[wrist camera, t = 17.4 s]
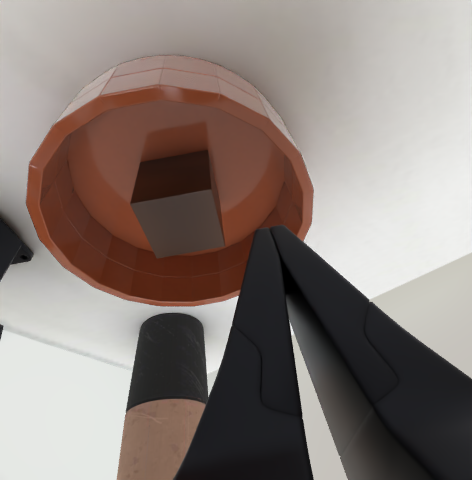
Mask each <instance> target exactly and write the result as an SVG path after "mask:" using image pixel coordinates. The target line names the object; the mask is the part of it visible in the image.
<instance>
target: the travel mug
mask: <svg viewBox="0 0 472 480" xmlns="http://www.w3.org/2000/svg"><path fill="white" fill-rule="evenodd" d="M207 400H208V386H207V372H206V357H205V343H204V331H203V326H202V324H201V322H200V321H199V320H197V319H196V318H194V317H191V316H189V315H185V314H177V313H169V314H162V315H157V316H154V317H152V318H150V319H148V320H147V321H145V322H144V323H143V325H142V326H141V329H140V333H139V338H138V344H137V350H136V355H135V361H134V367H133V373H132V379H131V385H130V390H129V396H128V402H127V408H126V415H125V422H124V430H123V436H122V444H121V452H120V459H119V467H118V474H117V480H173V478H174V476H175V475H176V473H177V471H178V469H179V467H180V465H181V463H182V461H183V459H184V457H185V455H186V453H187V450H188V448H189V446H190V443H191V441H192V439H193V436H194V434H195V431H196V429H197V426H198V423H199V421H200V418H201V416H202V413H203V411H204V408H205V405H206V403H207Z"/></svg>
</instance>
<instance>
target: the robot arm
mask: <svg viewBox="0 0 472 480" xmlns="http://www.w3.org/2000/svg"><path fill="white" fill-rule="evenodd" d="M32 257H33V253H32V252H31V251H30V250H29V248H28V247H27V246H26V245H25V244H24V243H23V242H22V241H21V240H20V239H19V238H18V237H17V236H16V234H15V233H14V232H13V231H12V230H11V229H10V228H9V227H8V226H7V225H6V224H5V223H4V222H3V220H2V219H1V218H0V281H1V280H2V278H3V276H4V275H5V273H6V271H7V269H8V268H9V266H10V265H11V264H17V263H23V262H28V261H30V260H31V259H32ZM289 320H290V323H291V325H292V328H293V331H294V333H295V336H296V339H297V342H298V344H299V347H300V350H301V353H302V355H303V358H304V361H305V363H306V366H307V369H308V371H309V374H310V377H311V380H312V382H313V385H314V388H315V391H316V393H317V396H318V399H319V402H320V404H321V407H322V410H323V413H324V415H325V418H326V421H327V423H328V426H329V429H330V432H331V434H332V437H333V440H334V443H335V445H336V448H337V451H338V453H339V455H340V456H341V457H340V459H341V462H342V465H343V467H344V470H345V473H346V476H347V478H348V480H472V379H471V378H470V377H469V376H467V375H466V374H464V373H463V372H462V371H460V370H459V369H458V368H456V367H455V366H453V365H452V364H451V363H449V362H448V361H446V360H445V359H444V358H442V357H441V356H439V355H438V354H437V353H435V352H434V351H433V350H431V349H430V348H428V347H427V346H426V345H424V344H423V343H422V342H420V341H419V340H418V339H416V338H415V337H414V336H412V335H411V334H410V333H409V332H407V331H406V330H405V329H403V328H402V327H400V325H398V324H397V323H396V322H395V321H393V320H392V319H391V318H390V317H389V316H388V315H386V314H385V313H384V312H383V311H382V310H380V309H379V308H378V307H377V306H376V305H375V304H374V303H373V302H369V299H368V298H367V297H366V296H364V295H363V294H362V293H361V292H360V291H359V290H358V289H356V288H355V287H354V286H353V285H352V284H351V283H350V282H348V281H347V280H346V279H345V278H344V277H343V276H342V275H340V274H339V273H338V272H337V271H336V270H335V269H334V268H333V267H331V266H330V265H329V264H328V263H327V262H326V261H325V260H323V259H322V258H321V257H320V256H319V255H318V254H317V253H315V252H314V251H313V250H312V249H311V248H310V247H309V246H307V245H306V244H305V243H304V242H303V241H302V240H301V239H299V238H298V237H297V236H296V235H295V234H294V233H293V232H291V231H290V230H289V229H288V228H287V227H286V226H285V225H277V226H272V227H270V229H269V228H268V227H265V228H260V229H256V230H255V232H254V236H253V240H252V244H251V248H250V252H249V256H248V260H247V265H246V269H245V273H244V277H243V281H242V285H241V289H240V293H239V297H238V302H237V306H236V310H235V314H234V318H233V322H232V327H231V330H230V334H229V338H228V342H227V345H226V349H225V352H224V356H223V359H222V362H221V365H220V368H219V371H218V374H217V377H216V380H215V382H214V385H213V387H212V390H211V392H210V395H209V398H208V400H207V403H206V405H205V408H204V411H203V413H202V416H201V418H200V421H199V423H198V426H197V429H196V431H195V434H194V436H193V439H192V441H191V443H190V446H189V448H188V450H187V453H186V455H185V457H184V459H183V461H182V463H181V465H180V467H179V469H178V471H177V473H176V475H175V476H174V478H173V480H314V479H313V474H312V469H311V464H310V459H309V454H308V448H307V442H306V436H305V429H304V423H303V419H302V409H301V401H300V395H299V387H298V380H297V373H296V366H295V359H294V353H293V345H292V338H291V330H290V323H289ZM2 330H3V325H1V324H0V339H1V334H2Z"/></svg>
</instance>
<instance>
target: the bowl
mask: <svg viewBox="0 0 472 480" xmlns="http://www.w3.org/2000/svg"><path fill="white" fill-rule="evenodd" d="M204 150H208V151H209V156H210V160H211V165H212V169H213V174H214V178H215V183H216V187H217V192H218V196H219V201H220V206H221V214H222V223H223V231H224V240H225V247H219V248H213V249H208V250H202V251H196V252H191V253H185V254H180V255H174V256H168V257H163V258H156V256H155V254H154V252H153V250H152V248H151V246H150V244H149V242H148V240H147V238H146V236H145V234H144V231H143V229H142V227H141V225H140V223H139V221H138V219H137V217H136V215H135V213H134V211H133V209H132V207H131V205H130V202H131V197H132V193H133V189H134V185H135V181H136V177H137V173H138V169H139V165H140V162H144V161H150V160H155V159H161V158H166V157H171V156H177V155H182V154H188V153H193V152H199V151H204ZM313 192H314V190H313V186H312V183H311V180H310V177H309V175H308V172H307V169H306V166H305V163H304V161H303V158H302V155H301V153H300V151H299V149H298V148H297V146H296V144H295V142H294V140H293V138H292V137H291V135H290V133H289V131H288V129H287V128H286V126H285V124H284V122H283V120H282V119H281V117H280V115H279V114H278V113H277V112H276V111H275V109H274V108H273V107H272V106H271V104H270V103H269V102H268V101H267V99H266V98H265V97H264V96H263V95H262V94H261V93H260V92H259V91H258V90H257V89H256V88H255V87H254V86H253V85H252V84H250V83H249V82H247V81H246V80H245V79H243V78H242V77H240V76H239V75H237V74H236V73H234V72H232V71H230V70H228V69H226V68H224V67H222V66H220V65H217V64H214V63H211V62H208V61H205V60H202V59H198V58H192V57H187V56H177V55H159V56H150V57H143V58H139V59H135V60H132V61H128V62H125V63H123V64H120V65H117V66H116V67H114V68H112V69H109V70H108V71H106V72H105V73H103V74H102V75H100V76H99V77H97V78H96V79H94V80H93V81H92V82H91V83H90V84H88V85H86V86H85V87H83V88H82V89H81V91H80V92H79V93H78V94H77V96H76V97H75V98H74V99H73V101H72V102H71V103H70V104H69V106H68V107H67V108H66V109H65V111H64V112H63V113H62V114H61V115H60V117H59V118H58V119H57V120H56V122H55V123H54V124H53V125H52V127H51V129H50V130H49V132H48V133H47V135H46V137H45V138H44V140H43V141H42V143H41V145H40V146H39V148H38V149H37V151H36V153H35V154H34V156H33V157H32V159H31V161H30V162H29V168H28V182H27V195H26V206H27V208H28V211H29V214H30V216H31V219H32V221H33V224H34V227H35V229H36V232H37V235H38V237H39V239H40V241H41V242H42V243H43V244H44V245H45V247H46V248H47V249H48V250H49V251H50V252H51V254H52V255H53V256H54V257H55V258H56V259H57V261H58V262H59V263H60V264H61V265H62V266H63V267H64V268H65V269H67V270H68V271H70V272H71V273H73V274H74V275H76V276H77V277H79V278H80V279H82V280H83V281H85V282H86V283H88V284H89V285H91V286H92V287H94V288H96V289H99V290H102V291H104V292H107V293H109V294H112V295H114V296H117V297H119V298H122V299H125V300H128V301H134V302H139V303H144V304H150V305H155V306H199V305H204V304H210V303H216V302H222V301H226V300H228V299H231V298H233V297H236V296H239V293H240V289H241V285H242V281H243V277H244V273H245V269H246V265H247V260H248V256H249V252H250V248H251V244H252V240H253V236H254V232H255V230H256V229H260V228H265V227H268V228H269V229H270V227H272V226H277V225H285V226H286V227H287V228H288V229H289V230H290V231H291V232H293V233H294V234H295V235H296V236H297V237H298V238H299V239H301V240H302V241H304V239H305V237H306V234H307V232H308V230H309V228H310V225H311V222H312V210H313Z"/></svg>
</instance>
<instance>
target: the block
mask: <svg viewBox="0 0 472 480" xmlns="http://www.w3.org/2000/svg"><path fill="white" fill-rule="evenodd" d="M130 205H131V207H132V209H133V211H134V213H135V215H136V217H137V219H138V221H139V223H140V225H141V227H142V229H143V231H144V234H145V236H146V238H147V240H148V242H149V244H150V246H151V248H152V250H153V252H154V254H155V256H156V258H163V257H168V256H174V255H180V254H185V253H191V252H196V251H202V250H208V249H213V248H219V247H225V240H224V231H223V223H222V214H221V206H220V201H219V196H218V192H217V187H216V183H215V178H214V174H213V169H212V165H211V160H210V156H209V151H208V150H204V151H199V152H193V153H188V154H182V155H177V156H171V157H166V158H161V159H155V160H150V161H144V162H140V165H139V169H138V173H137V177H136V181H135V185H134V189H133V193H132V197H131V202H130Z"/></svg>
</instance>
